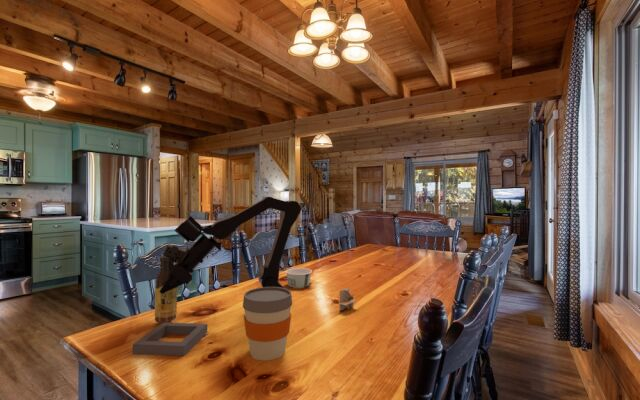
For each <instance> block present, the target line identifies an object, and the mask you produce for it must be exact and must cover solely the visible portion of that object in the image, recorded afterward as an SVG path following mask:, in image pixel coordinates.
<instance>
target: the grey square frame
mask: <svg viewBox="0 0 640 400" xmlns="http://www.w3.org/2000/svg"><path fill="white" fill-rule="evenodd" d="M206 334H208V323H189V322H187V323H186V322H165V323H159V325H157V326H156V327H155V328H153V329H151V331H149V332H148V333H146V334H144V336H142V337H141V338H139V339H138V340H136V341H135V342H133V343H132V355H148V356H149V355H150V356H152V355H153V356H179V357H186V355H187V354H188V353H189V352H190V351H191V350H192V349H193V348H194V346H195V345H197V344H198V343H199V341H201V340H202V339H203V338H204V337H205V336H206ZM165 335H176V336H177V335H180V336H181V335H182V336H185V335H186V336H185V337H184V339H182V340H181V341H161V340H160V339H162V337H164V336H165Z"/></svg>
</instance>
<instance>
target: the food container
mask: <svg viewBox="0 0 640 400" xmlns="http://www.w3.org/2000/svg"><path fill="white" fill-rule="evenodd" d="M284 271H285V274H286V278H287V284H288V285H287V286H288V287H289V286H290V287H289V288H291V287H293V288H292V289H305V288H304V287H306V288H308V287H309V286H310V282H311V281H310V279H311V275H312V273H313V270H312V269H310V268H305V267H304V268H303V267H302V268H301V267H294V268H289V269H287V270H284ZM307 286H308V287H307Z"/></svg>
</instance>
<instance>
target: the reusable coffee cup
mask: <svg viewBox="0 0 640 400" xmlns="http://www.w3.org/2000/svg"><path fill="white" fill-rule="evenodd" d="M292 297H293V296H292V291H291V290H290V289H288V288H285V287H284V288H281V287H262V286H261V287H257V288H252V289H250V290H247V291H246V292H245V293H244V294H243V300H242V301H243V302H242V307H243V309H244V316H243V322H244V330H245V336H246V338H248V339H247V340H248V345H249V346H248V347H249V354H250V357H251V358H253V359H254V360H256V361H257V360H258V361H267V362H268V361H273V360H276V359H280V358H281V357H282V356H284V354H285V353H286V348H287V339H288V335H289V334H290V328H291V323H292V322H291V320H292V312H291V310H292V309H291V308H292V306H293V299H292Z"/></svg>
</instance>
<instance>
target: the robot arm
mask: <svg viewBox="0 0 640 400" xmlns="http://www.w3.org/2000/svg"><path fill="white" fill-rule="evenodd" d="M269 209H272V210H276V211H279V225H278V229H277V231H276V234H275V238H274V240H273V244H272V247H271V250H270V252H269V255H268V259H267V261H266V263H265V264H262V263H260V267H259V270H258V273H257V276H258V277H257V278H258V282H259V284H260V286H261V287H281V288H285V287H284V286H283V285H282V284H281V283H280V282H279V277H280V264H281V260H282V258H283V254H284V250H285V248H286V244H287V242H288V240H289V239H288V238H289V236H290V232H291V229H292V227H293V226H294V224H295V223H296V221H297V220H298V218H299V216H300V214H301V211H302V207H301V205H300V203H299V202H298V201H296V200H286V201H285V200H281V199H279V198H273V196H265V197H263V198H262V199H261V200H259V201H257V202H255V203H253V204H252V205H250V206H248V207H246V208H245V209H243V210H241V211H240V212H238V213H236V214H234V215H230V216H228V217H224V218H221V219H218V220H216V221H214V222H213V223H211V224H209V225H201V223H199V222H198V221H197V220H196V219H195V218H194V217H193V216H192V215H189V217H187V219H185V220H184V221H182V222H181V223H180V224H179V225H178V226H177V227H176V228H175V229H174V232H175V233H176V234H177V235H178V236H180V238H182V239H183V240H184V241H186V243H188V242H192V243H193V242H194V243H193V244H192V245H191V246H189V247H187V248H186V249H183V248H181V247H179V246H176V245H172V244H170V243H167V244H166V246H165V248H164V251H163V252H162V256H166V257H171V258H174V265H173V268H172V269H170V277H169V278H168V280H167V281H166V283H165V284H164V285H163V287H162V288H161V290H160V293H162V294H163V293H165V292H167V291H169V290H171V289H173V288H176V287H177V288H178V287H180V286H182V285H185V284H186V285H189V283H191V281H192V280H193V273H194V271H195V269H196V268H197V267H198V266H199V265H200V264H202V263H203V262H204V259H206V257H207V256H208V255H209V254H210V253H211V252H213V250H214V249H215V248H216V249H217V250H219V251H221V250H222V241H221V240H223V239H226V238H227V237H229V236H230V235H231V234H232V233H234V232H235V231H236V229H238V228H239V227H240V226H241V225H243V224H244V223H247V222H248V221H250V220H251V219H253V218H255V217H257V216H259V215H260V214H262V213H264V212H265V211H267V210H269ZM207 235H209V237H208V236H207ZM216 239H218V240H220V241H218V240H216Z"/></svg>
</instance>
